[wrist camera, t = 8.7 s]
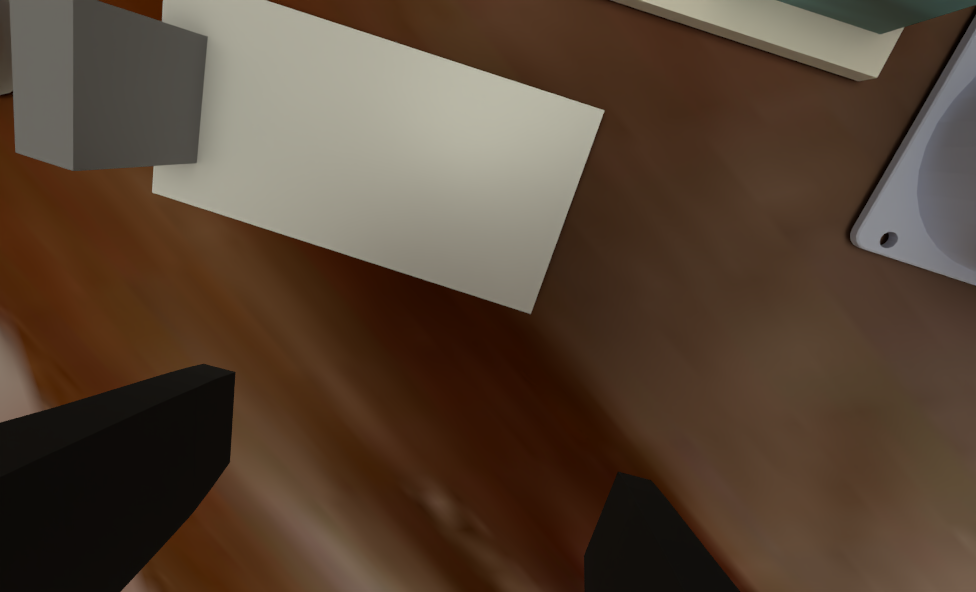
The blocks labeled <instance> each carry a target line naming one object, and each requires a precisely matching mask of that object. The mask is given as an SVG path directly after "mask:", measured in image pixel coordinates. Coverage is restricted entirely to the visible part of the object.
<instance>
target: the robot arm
mask: <svg viewBox="0 0 976 592" xmlns="http://www.w3.org/2000/svg"><path fill="white" fill-rule="evenodd" d="M887 232H888V234H889V238H888V240H887V242H886V243H885V244H882V245H880V239H881V237H882V236H883V235H884V234H885V233H887ZM850 240H851V242H852V243H853V245H855V246H857V247H858V248H861V249H864V250H868V251H871V252H874V253H877V254H880V255H883V256H886V257H889V258H892V259H895V260H898V261H901V262H905V263H908V264H911V265H914V266H917V267H920V268H923V269H926V270H929V271H932V272H935V273H938V274H942V275H945V276H948V277H951V278H954V279H957V280H960V281H963V282H966V283H969V284H972V285H975V286H976V15H975V17H974V19H973V21H972V22H971V24H970V26H969V27H968V29H967V31H966V33H965V34H964V36H963V38H962V40H961V41H960V43H959V45H958V46H957V48H956V50H955V52H954V53H953V55H952V57H951V59H950V60H949V62H948V64H947V65H946V67H945V69H944V71H943V72H942V74H941V76H940V78H939V79H938V81H937V83H936V84H935V86H934V88H933V90H932V91H931V93H930V95H929V97H928V98H927V100H926V102H925V103H924V105H923V107H922V109H921V110H920V112H919V114H918V116H917V117H916V119H915V121H914V122H913V124H912V126H911V128H910V129H909V131H908V133H907V135H906V136H905V138H904V140H903V141H902V143H901V145H900V147H899V148H898V150H897V152H896V154H895V155H894V157H893V159H892V160H891V162H890V164H889V166H888V167H887V169H886V171H885V173H884V174H883V176H882V178H881V180H880V181H879V183H878V185H877V186H876V188H875V190H874V192H873V193H872V195H871V197H870V199H869V200H868V202H867V204H866V205H865V207H864V209H863V211H862V212H861V214H860V216H859V218H858V219H857V221H856V223H855V224H854V226H853V228H852V230H851V233H850ZM234 385H235V372H233V371H229V370H225V369H221V368H217V367H213V366H210V365H206V364H201V365H197V366H192V367H188V368H184V369H181V370H177V371H174V372H170V373H167V374H163V375H160V376H156V377H153V378H150V379H147V380H143V381H140V382H137V383H134V384H130V385H127V386H124V387H121V388H117V389H114V390H111V391H107V392H104V393H101V394H98V395H94V396H91V397H88V398H84V399H81V400H78V401H75V402H71V403H68V404H65V405H62V406H58V407H55V408H51V409H48V410H44V411H41V412H37V413H33V414H30V415H26V416H23V417H19V418H15V419H12V420H8V421H5V422H1V423H0V592H121V591H122V589H123V588H124V587H125V586H126V585H127V584H128V583H129V582H130V581H131V580H132V579H133V578H134V577H135V575H136V574H137V573H138V572H139V571H140V570H141V569H142V568H143V567H144V566H145V565H146V564H147V563H148V562H149V560H150V559H151V558H152V557H153V556H154V555H155V554H156V553H157V552H158V551H159V550H160V549H161V547H162V546H163V545H164V544H165V543H166V542H167V541H168V540H169V539H170V538H171V536H172V535H173V534H174V533H175V532H176V531H177V530H178V529H179V528H180V527H181V526H182V524H183V523H184V522H185V521H186V520H187V519H188V518H189V517H190V515H191V514H192V513H193V512H194V511H195V509H196V508H197V507H198V505H199V504H200V503H201V501H202V500H203V499H204V497H205V496H206V495H207V494H208V492H209V491H210V490H211V488H212V487H213V485H214V484H215V482H216V481H217V480H218V478H219V477H220V475H221V474H222V473H223V471H224V470H225V468H226V467H227V465H228V464H229V463H230V451H231V435H232V418H233V402H234ZM584 577H585V592H740V591H739V589H738V588H737V587H736V586H735V585H734V583H733V582H732V581H731V580H730V578H729V577H728V576H727V575H726V573H725V572H724V571H723V570H722V568H721V567H720V566H719V565H718V564H717V562H716V561H715V560H714V558H713V557H712V556H711V555H710V553H709V552H708V551H707V550H706V548H705V547H704V546H703V545H702V543H701V542H700V541H699V539H698V538H697V537H696V536H695V534H694V533H693V532H692V530H691V529H690V528H689V527H688V525H687V524H686V523H685V522H684V520H683V519H682V518H681V516H680V515H679V514H678V513H677V511H676V510H675V509H674V508H673V506H672V505H671V504H670V502H669V501H668V500H667V499H666V497H665V496H664V495H663V494H662V493H661V491H660V490H659V489H658V488H657V487H656V485H655V484H654V483H653V482H652V481H651V480H648V479H644V478H640V477H636V476H632V475H629V474H625V473H621V472H618V473H617V476H616V478H615V481H614V483H613V486H612V488H611V491H610V493H609V496H608V498H607V501H606V503H605V505H604V508H603V510H602V513H601V515H600V518H599V520H598V523H597V525H596V528H595V530H594V533H593V535H592V538H591V540H590V542H589V545H588V547H587V550H586V552H585V555H584Z"/></svg>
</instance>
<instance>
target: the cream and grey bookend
mask: <svg viewBox="0 0 976 592" xmlns="http://www.w3.org/2000/svg"><path fill="white" fill-rule="evenodd" d="M9 3H10V28H11V52H12V77H13V101H14V126H15V150H16V153H19V154H22V155H25V156H28V157H31V158H35V159H38V160H41V161H44V162H47V163H50V164H53V165H56V166H59V167H63V168H66V169H69V170H72V171H80V170H96V169H112V168H128V167H144V166H154V170H153V188H152V192H153V193H156V194H159V195H162V196H165V197H168V198H171V199H174V200H177V201H181V202H184V203H187V204H190V205H193V206H196V207H199V208H202V209H205V210H209V211H212V212H215V213H218V214H221V215H224V216H227V217H230V218H233V219H237V220H240V221H243V222H246V223H249V224H252V225H255V226H258V227H261V228H265V229H268V230H271V231H274V232H277V233H280V234H283V235H286V236H289V237H293V238H296V239H299V240H302V241H305V242H308V243H311V244H314V245H317V246H321V247H324V248H327V249H330V250H333V251H336V252H339V253H342V254H345V255H349V256H352V257H355V258H358V259H361V260H364V261H367V262H370V263H373V264H377V265H380V266H383V267H386V268H389V269H392V270H395V271H398V272H402V273H405V274H408V275H411V276H414V277H417V278H420V279H423V280H426V281H430V282H433V283H436V284H439V285H442V286H445V287H448V288H451V289H454V290H458V291H461V292H464V293H467V294H470V295H473V296H476V297H479V298H482V299H486V300H489V301H492V302H495V303H498V304H501V305H504V306H507V307H510V308H514V309H517V310H520V311H523V312H526V313H529V314H531V312H532V309H533V306H534V304H535V301H536V298H537V295H538V293H539V290H540V287H541V284H542V282H543V279H544V276H545V273H546V271H547V268H548V265H549V262H550V260H551V257H552V254H553V251H554V249H555V246H556V243H557V240H558V238H559V235H560V232H561V229H562V226H563V224H564V221H565V218H566V215H567V213H568V210H569V207H570V204H571V202H572V199H573V196H574V193H575V191H576V188H577V185H578V182H579V180H580V177H581V174H582V171H583V169H584V166H585V163H586V160H587V158H588V155H589V152H590V149H591V147H592V144H593V141H594V138H595V136H596V133H597V130H598V127H599V125H600V122H601V119H602V116H603V113H604V111H605V110H602V109H598V108H595V107H592V106H589V105H586V104H583V103H580V102H577V101H574V100H571V99H568V98H565V97H562V96H558V95H555V94H552V93H549V92H546V91H543V90H540V89H537V88H534V87H531V86H528V85H525V84H522V83H518V82H515V81H512V80H509V79H506V78H503V77H500V76H497V75H494V74H491V73H488V72H485V71H482V70H478V69H475V68H472V67H469V66H466V65H463V64H460V63H457V62H454V61H451V60H448V59H445V58H442V57H439V56H435V55H432V54H429V53H426V52H423V51H420V50H417V49H414V48H411V47H408V46H405V45H402V44H399V43H395V42H392V41H389V40H386V39H383V38H380V37H377V36H374V35H371V34H368V33H365V32H362V31H359V30H355V29H352V28H349V27H346V26H343V25H340V24H337V23H334V22H331V21H328V20H325V19H322V18H319V17H316V16H312V15H309V14H306V13H303V12H300V11H297V10H294V9H291V8H288V7H285V6H282V5H279V4H276V3H272V2H269V1H266V0H163V12H162V22H161V21H158V20H155V19H152V18H149V17H146V16H143V15H140V14H137V13H134V12H130V11H127V10H124V9H121V8H118V7H115V6H112V5H109V4H106V3H103V2H100V1H97V0H9Z"/></svg>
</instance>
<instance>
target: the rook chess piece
mask: <svg viewBox="0 0 976 592" xmlns="http://www.w3.org/2000/svg"><path fill="white" fill-rule="evenodd" d="M12 91H13V77H12V52H11V28H10V3H9V0H0V95H2V94H6V93H10V92H12Z"/></svg>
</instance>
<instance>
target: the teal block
mask: <svg viewBox="0 0 976 592" xmlns="http://www.w3.org/2000/svg"><path fill="white" fill-rule="evenodd" d="M777 1H780V2H783V3H786V4H789V5H792V6H795V7H798V8H801V9H804V10H807V11H811V12H814V13H817V14H820V15H823V16H826V17H829V18H832V19H835V20H838V21H841V22H844V23H847V24H850V25H853V26H856V27H859V28H862V29H865V30H868V31H872V32H875V33H878V34H883V33H887V32H890V31H893V30H896V29H900V28H903V27H906V26H909V25H912V24H916V23H919V22H922V21H925V20H928V19H932V18H935V17H938V16H941V15H945V14H948V13H951V12H954V11H957V10H961V9H964V8H967V7H970V6H973V5H976V0H777Z"/></svg>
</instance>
